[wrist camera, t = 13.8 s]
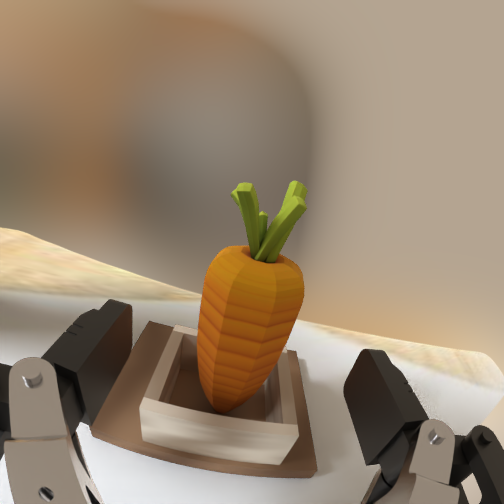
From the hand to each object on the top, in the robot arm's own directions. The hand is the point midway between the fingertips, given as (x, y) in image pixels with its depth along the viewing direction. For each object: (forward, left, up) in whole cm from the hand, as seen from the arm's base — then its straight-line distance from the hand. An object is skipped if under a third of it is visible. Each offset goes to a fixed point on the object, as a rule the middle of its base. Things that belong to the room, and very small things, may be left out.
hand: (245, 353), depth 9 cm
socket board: (-1, +7, -11) cm, 13 cm away
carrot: (0, +5, -10) cm, 11 cm away
